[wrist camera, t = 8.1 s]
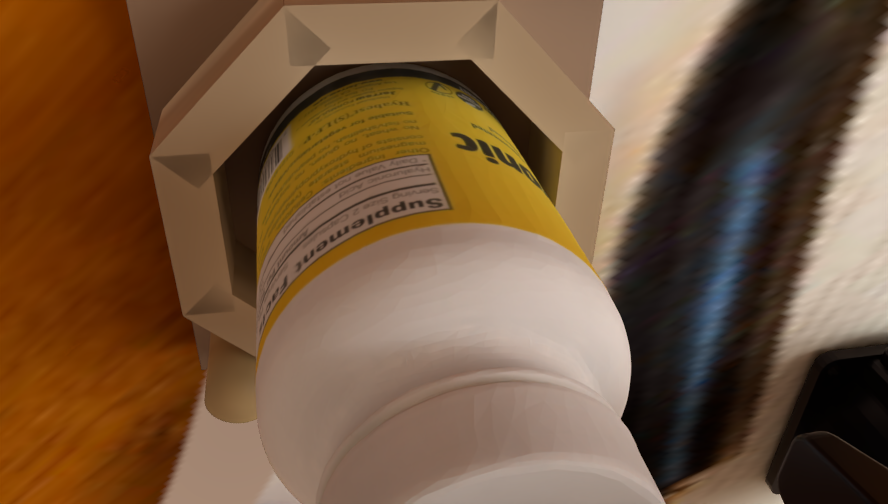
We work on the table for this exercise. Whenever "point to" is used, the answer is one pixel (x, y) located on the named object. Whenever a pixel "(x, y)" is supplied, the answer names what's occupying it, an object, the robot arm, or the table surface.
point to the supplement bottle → (429, 310)
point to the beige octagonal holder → (302, 67)
